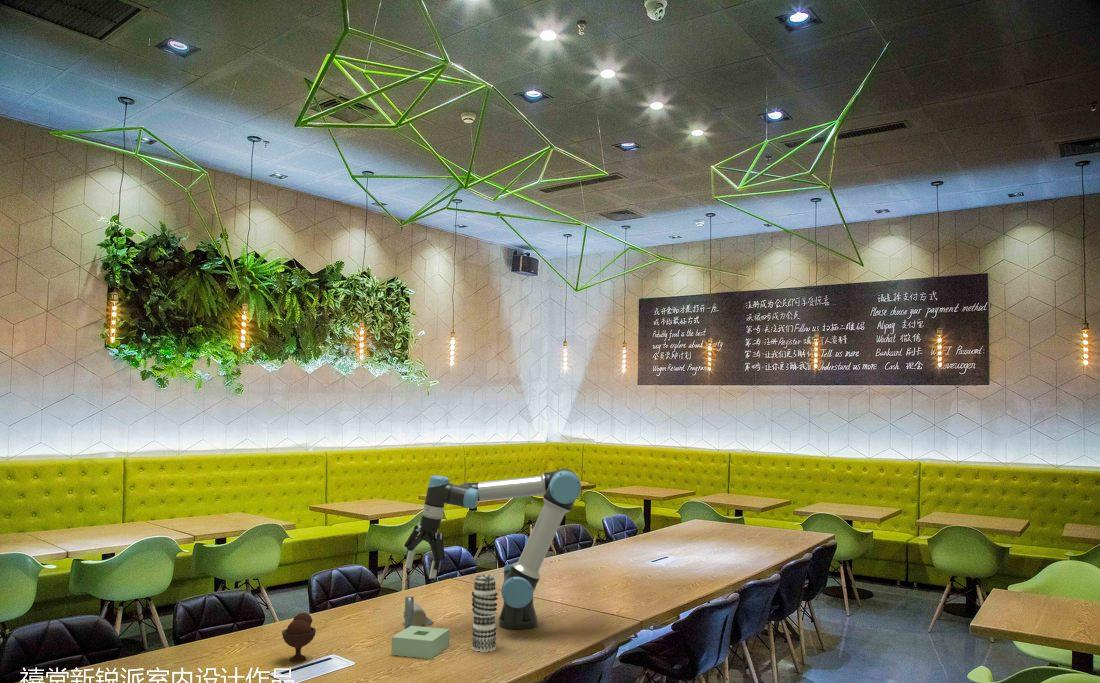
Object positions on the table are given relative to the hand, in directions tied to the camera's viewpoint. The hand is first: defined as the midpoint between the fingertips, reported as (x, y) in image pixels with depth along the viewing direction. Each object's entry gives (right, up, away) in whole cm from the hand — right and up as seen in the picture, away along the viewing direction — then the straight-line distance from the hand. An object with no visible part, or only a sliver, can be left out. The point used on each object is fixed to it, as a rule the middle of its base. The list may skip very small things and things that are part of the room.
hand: (419, 572), depth 292 cm
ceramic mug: (-2, -23, +9) cm, 25 cm away
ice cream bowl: (-35, -19, -33) cm, 52 cm away
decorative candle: (+26, -21, -19) cm, 39 cm away
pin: (-3, -21, -7) cm, 23 cm away
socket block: (+4, -20, -23) cm, 31 cm away
